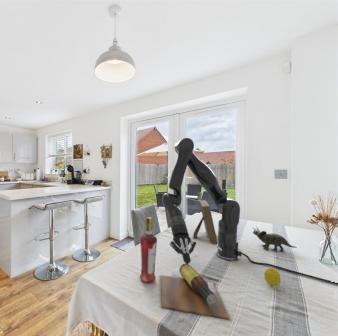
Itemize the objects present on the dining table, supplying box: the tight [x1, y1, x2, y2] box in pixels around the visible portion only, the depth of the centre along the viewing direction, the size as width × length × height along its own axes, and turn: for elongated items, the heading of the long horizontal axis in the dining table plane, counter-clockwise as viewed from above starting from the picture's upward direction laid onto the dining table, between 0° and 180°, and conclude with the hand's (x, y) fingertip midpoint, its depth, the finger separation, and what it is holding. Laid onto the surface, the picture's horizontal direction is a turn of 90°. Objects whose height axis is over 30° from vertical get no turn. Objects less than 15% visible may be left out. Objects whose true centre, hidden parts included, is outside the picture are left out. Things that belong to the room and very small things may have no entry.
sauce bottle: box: [178, 263, 217, 304], centre depth 80 cm, size 6×6×20 cm
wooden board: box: [160, 275, 230, 320], centre depth 78 cm, size 22×20×1 cm
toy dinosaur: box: [252, 226, 298, 252], centre depth 122 cm, size 22×8×11 cm, turn 47°
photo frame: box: [192, 199, 218, 244], centre depth 141 cm, size 15×22×25 cm
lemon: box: [263, 267, 282, 287], centre depth 85 cm, size 6×6×8 cm
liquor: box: [139, 216, 158, 284], centre depth 87 cm, size 7×7×28 cm
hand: (187, 262), depth 88 cm, fingers closed
